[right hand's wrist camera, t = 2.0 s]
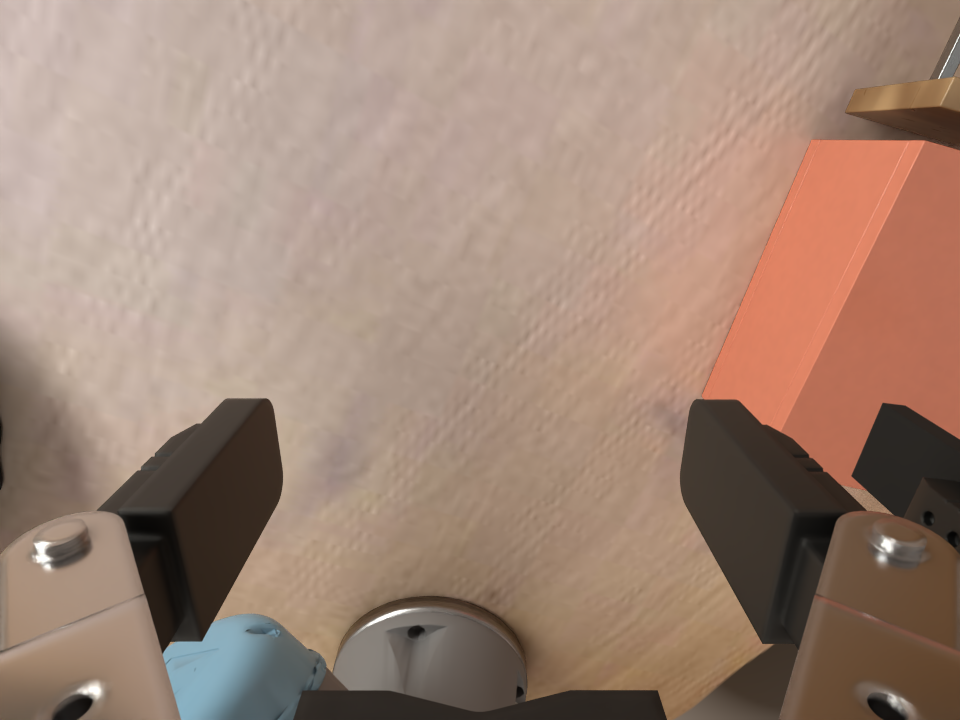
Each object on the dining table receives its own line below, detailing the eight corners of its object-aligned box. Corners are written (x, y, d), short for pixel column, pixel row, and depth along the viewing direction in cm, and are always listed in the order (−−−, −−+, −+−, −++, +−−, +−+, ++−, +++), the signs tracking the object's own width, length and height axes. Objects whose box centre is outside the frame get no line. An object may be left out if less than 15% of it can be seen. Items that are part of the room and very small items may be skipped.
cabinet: (811, 139, 32) (924, 139, 24) (975, 185, 33) (1138, 201, 25) (701, 396, 37) (762, 467, 29) (843, 429, 38) (940, 507, 30)
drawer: (905, -26, 28) (1029, -74, 22) (1065, 25, 29) (1230, -7, 23) (739, 349, 35) (796, 395, 29) (872, 381, 36) (956, 433, 30)
